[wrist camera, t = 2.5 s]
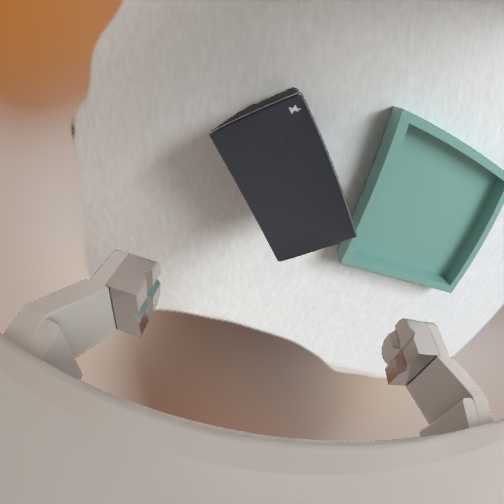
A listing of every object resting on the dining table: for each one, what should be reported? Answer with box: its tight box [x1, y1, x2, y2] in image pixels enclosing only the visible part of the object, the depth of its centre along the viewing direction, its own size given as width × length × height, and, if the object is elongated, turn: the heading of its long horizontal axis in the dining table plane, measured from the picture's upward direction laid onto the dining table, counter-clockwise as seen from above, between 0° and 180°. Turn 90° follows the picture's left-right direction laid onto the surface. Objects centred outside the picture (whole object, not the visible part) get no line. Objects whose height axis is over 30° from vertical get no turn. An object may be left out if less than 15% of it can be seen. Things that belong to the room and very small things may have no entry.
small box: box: [209, 87, 357, 261], centre depth 21 cm, size 11×6×10 cm, turn 26°
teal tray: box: [337, 106, 504, 293], centre depth 25 cm, size 17×17×3 cm
